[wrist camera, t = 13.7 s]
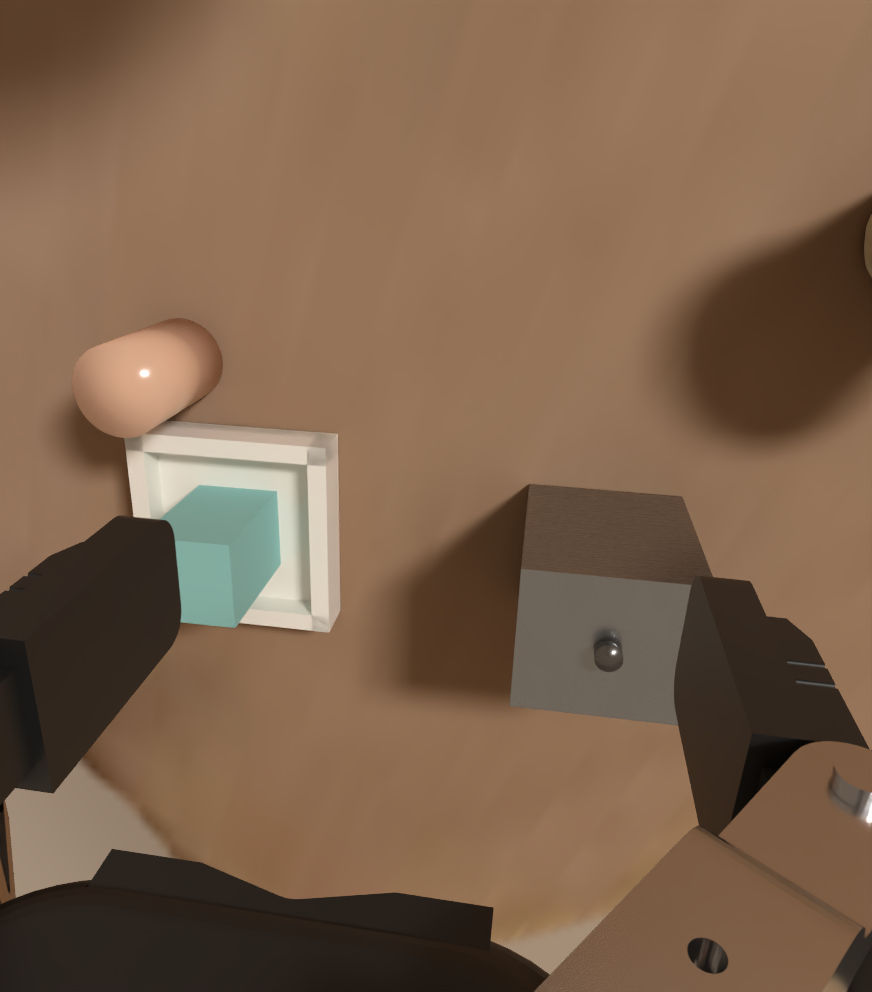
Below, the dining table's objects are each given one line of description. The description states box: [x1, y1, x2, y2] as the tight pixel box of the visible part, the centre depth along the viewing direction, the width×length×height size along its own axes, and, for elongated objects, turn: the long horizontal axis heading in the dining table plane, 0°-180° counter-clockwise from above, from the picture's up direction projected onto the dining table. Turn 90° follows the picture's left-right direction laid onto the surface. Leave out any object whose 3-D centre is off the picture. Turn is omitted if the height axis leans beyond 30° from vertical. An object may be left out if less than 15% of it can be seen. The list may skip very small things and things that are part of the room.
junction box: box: [510, 484, 713, 725], centre depth 39 cm, size 7×8×11 cm
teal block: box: [160, 485, 281, 628], centre depth 42 cm, size 4×4×7 cm
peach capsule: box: [72, 318, 223, 438], centre depth 40 cm, size 4×4×7 cm
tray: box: [124, 420, 340, 632], centre depth 45 cm, size 11×11×2 cm
